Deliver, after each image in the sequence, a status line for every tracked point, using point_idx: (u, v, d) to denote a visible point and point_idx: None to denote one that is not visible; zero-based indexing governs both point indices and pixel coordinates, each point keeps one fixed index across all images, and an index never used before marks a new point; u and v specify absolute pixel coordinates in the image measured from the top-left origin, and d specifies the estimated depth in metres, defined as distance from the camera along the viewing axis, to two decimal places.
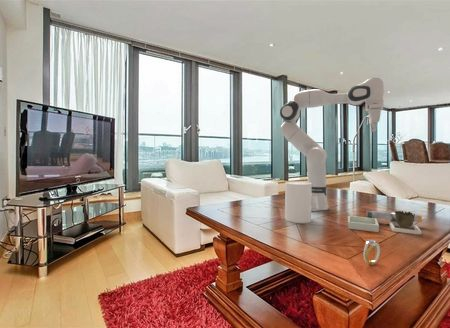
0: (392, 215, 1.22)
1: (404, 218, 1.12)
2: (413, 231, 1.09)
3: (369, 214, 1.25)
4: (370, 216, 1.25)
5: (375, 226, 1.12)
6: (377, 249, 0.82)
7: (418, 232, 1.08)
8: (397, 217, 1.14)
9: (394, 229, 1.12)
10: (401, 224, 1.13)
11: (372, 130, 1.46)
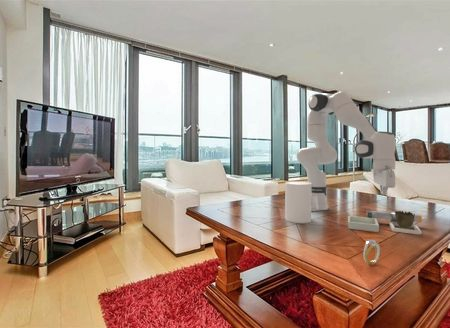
0: (392, 215, 1.22)
1: (404, 218, 1.12)
2: (413, 231, 1.09)
3: (369, 214, 1.25)
4: (370, 216, 1.25)
5: (375, 226, 1.12)
6: (377, 249, 0.82)
7: (418, 232, 1.08)
8: (397, 217, 1.14)
9: (394, 229, 1.12)
10: (401, 224, 1.13)
11: None
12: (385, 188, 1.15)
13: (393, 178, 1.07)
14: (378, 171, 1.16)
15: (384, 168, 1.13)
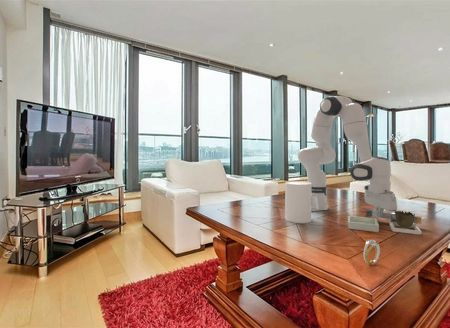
0: (391, 215, 1.23)
1: (404, 218, 1.12)
2: (413, 231, 1.09)
3: (368, 212, 1.29)
4: (369, 214, 1.28)
5: (375, 226, 1.12)
6: (377, 249, 0.82)
7: (418, 232, 1.08)
8: (397, 217, 1.14)
9: (394, 229, 1.12)
10: (401, 224, 1.13)
11: None
12: (381, 209, 1.24)
13: (395, 202, 1.16)
14: (376, 194, 1.24)
15: (383, 192, 1.21)
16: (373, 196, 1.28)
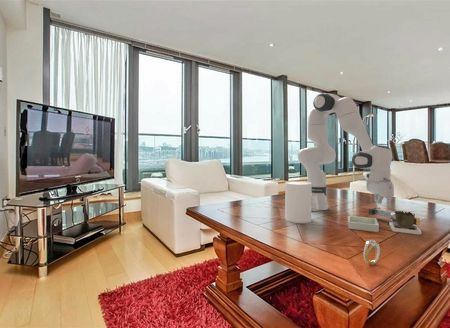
0: (390, 214, 1.24)
1: (404, 218, 1.12)
2: (413, 231, 1.09)
3: (370, 210, 1.33)
4: (370, 212, 1.32)
5: (375, 226, 1.12)
6: (377, 249, 0.82)
7: (418, 232, 1.08)
8: (397, 217, 1.14)
9: (394, 229, 1.12)
10: (401, 224, 1.13)
11: None
12: (381, 197, 1.26)
13: (392, 190, 1.18)
14: (376, 182, 1.26)
15: (382, 180, 1.23)
16: (373, 184, 1.31)
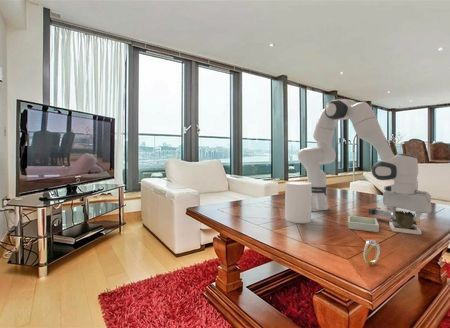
0: (390, 214, 1.24)
1: (404, 218, 1.12)
2: (413, 231, 1.09)
3: (370, 210, 1.33)
4: (370, 212, 1.32)
5: (375, 226, 1.12)
6: (377, 249, 0.82)
7: (418, 232, 1.08)
8: (397, 217, 1.14)
9: (394, 229, 1.12)
10: (401, 224, 1.13)
11: None
12: (420, 214, 1.08)
13: (430, 203, 1.05)
14: (404, 195, 1.11)
15: (413, 192, 1.09)
16: (397, 197, 1.16)
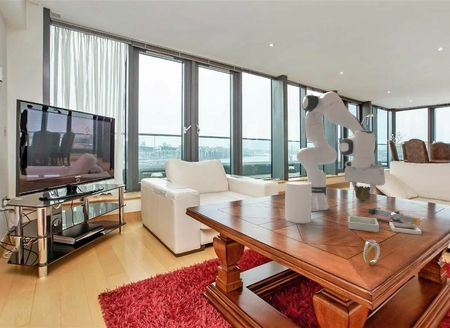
0: (390, 214, 1.24)
1: (362, 191, 1.17)
2: (413, 231, 1.09)
3: (370, 210, 1.33)
4: (370, 212, 1.32)
5: (375, 226, 1.12)
6: (377, 249, 0.82)
7: (418, 232, 1.08)
8: (356, 190, 1.19)
9: (394, 229, 1.12)
10: (359, 197, 1.18)
11: None
12: (374, 187, 1.14)
13: (384, 176, 1.10)
14: (362, 169, 1.16)
15: (370, 166, 1.14)
16: (356, 172, 1.21)
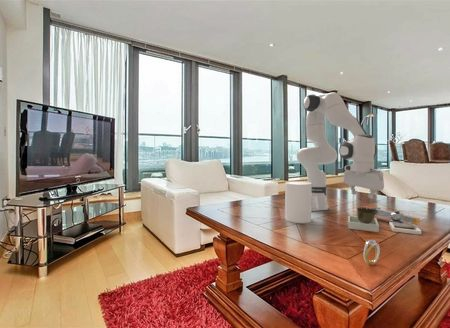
0: (390, 214, 1.24)
1: (364, 215, 1.15)
2: (413, 231, 1.09)
3: None
4: None
5: (375, 226, 1.12)
6: (377, 249, 0.82)
7: (418, 232, 1.08)
8: (358, 214, 1.18)
9: (394, 229, 1.12)
10: (361, 220, 1.17)
11: None
12: (373, 192, 1.14)
13: (382, 181, 1.10)
14: (361, 174, 1.16)
15: (369, 171, 1.14)
16: (355, 176, 1.21)
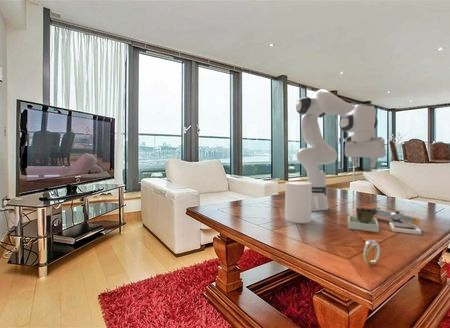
0: (390, 214, 1.24)
1: (363, 215, 1.16)
2: (413, 231, 1.09)
3: None
4: None
5: (375, 226, 1.12)
6: (377, 249, 0.82)
7: (418, 232, 1.08)
8: (357, 214, 1.19)
9: (394, 229, 1.12)
10: (361, 220, 1.17)
11: None
12: (375, 160, 1.12)
13: (384, 148, 1.09)
14: (362, 143, 1.15)
15: (370, 139, 1.13)
16: (356, 147, 1.20)
